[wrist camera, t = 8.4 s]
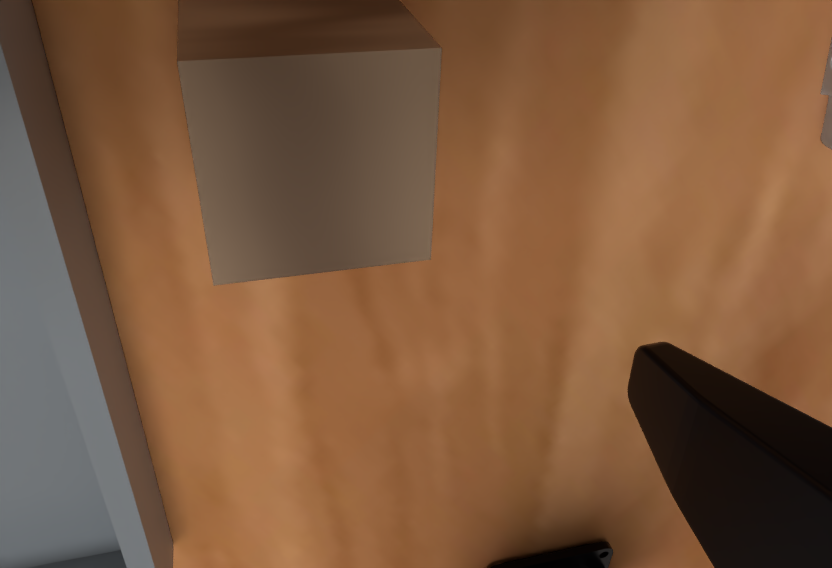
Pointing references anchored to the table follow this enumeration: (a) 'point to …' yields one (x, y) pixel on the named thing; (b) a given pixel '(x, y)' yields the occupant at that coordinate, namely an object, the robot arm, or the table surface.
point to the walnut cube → (310, 133)
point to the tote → (61, 350)
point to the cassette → (830, 87)
